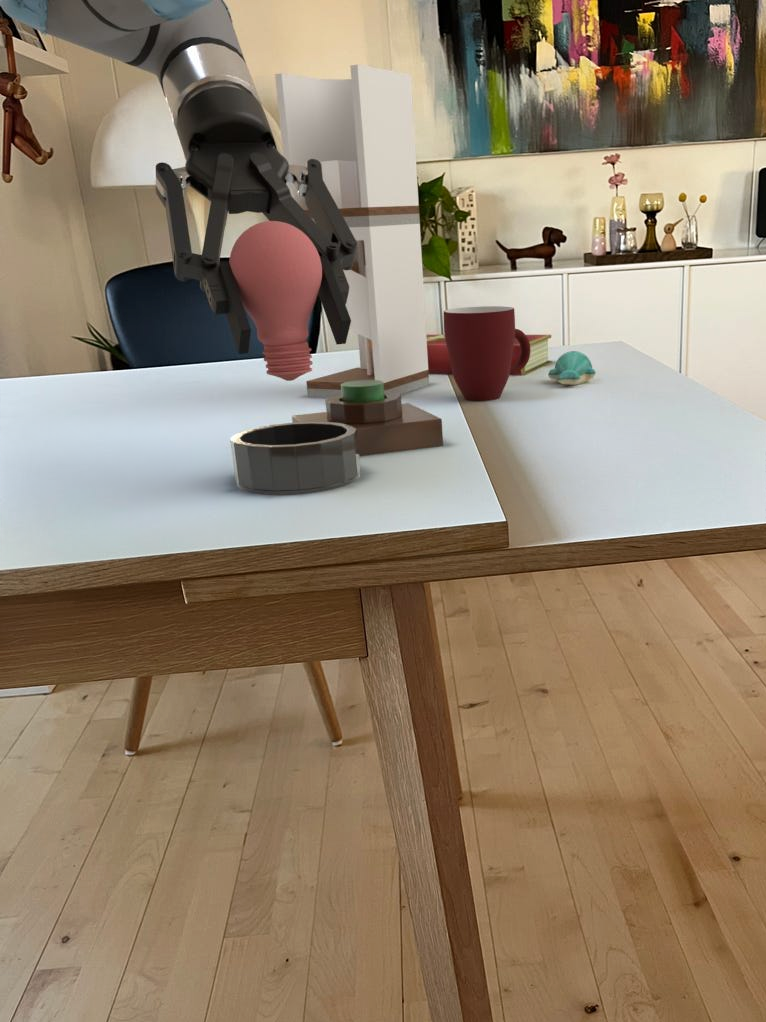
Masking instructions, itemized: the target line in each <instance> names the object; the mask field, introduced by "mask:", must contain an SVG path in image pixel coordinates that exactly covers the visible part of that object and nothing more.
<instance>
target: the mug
mask: <svg viewBox="0 0 766 1022" xmlns="http://www.w3.org/2000/svg"><path fill="white" fill-rule="evenodd" d="M515 313H516V312H515V308H514V307H511V306H501V305H500V306H499V305H498V306H497V305H495V306H494V305H493V306H492V305H491V306H489V305H488V306H485V305H484V306H468V307H456V308H450V309H449V308H448V309H445V310H443V335H445V341H446V345H447V350H448V355H449V359H450V364H451V368H452V373H453V374H452V377H453V379H454V381H455V384H456V386H457V387H458V389H459V391H460V393H461V396H463V398H464V400H466V401H470V402H488V401H496V400H499V399H500V398H501V396H502V394H503V392H504V390H505V387H506V385H507V383H508V380H509V377H510V376H511V375H510V374H513V373H516V372H518V371H520V370H521V369H523V368H524V367H525V366H526V364H527V363H528V361H529V358H530V343H529V340H528V338H527V336H526V335H527V334H525V333H524V332H523V330H520V329H518V328H516V318H515V317H516V314H515ZM514 338H516V339H517V340H518V341H519V344H520V347H521V354H520V358H519V361H518V362H517V364H516V365H514V366H513V367H511V360H512V353H513V346H514Z"/></svg>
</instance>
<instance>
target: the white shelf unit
mask: <svg viewBox="0 0 766 1022" xmlns="http://www.w3.org/2000/svg"><path fill="white" fill-rule="evenodd" d="M274 79H275V88H276V98H277V106H278V108H277V109H278V117H279V119H278V120H279V127H280V138H281V147H282V156H283V157H284V158H285V159H286V160H287V161H288V164H290V165H298V166H305V167H307V161H308V160H310V159H316V160H318V161H319V162H320V163H321V165H322V177H323V181H324V183H325V185H326V187H327V188H328V190H329V192H330V194H331V196H332V198H333V199H334V201H335V203H336V205H337V207H338V209H339V210H340V212H341V214H342V216H343V218H344V219H345V221H346V223H347V225H348V227H349V229H350V230H351V232H352V234H353V236H354V238H355V240H356V241H357V249H356V253H355V258H354V262H353V266H352V269H350V270H343V271H344V274H345V276H346V279H347V282H348V284H349V293H348V298H347V302H346V304H345V305H346V308H347V310H348V313H349V316H350V319H351V324H350V328H349V331H351V332H353V333H355V334H357V339H358V341H357V342H358V352H359V353H358V354H359V364H360V367H354V368H350V369H346V370H343V371H339V372H335V373H332V374H328V375H324V376H321V377H317V378H313V379H309V380H306V391H307V398H317V399H318V398H319V399H320V398H321V399H328V398H330V397H333V396H337V395H342V393H341V384H342V383H345V382H350V381H358V380H379V381H383V383H384V392H390V393H396V394H398V395H403V394H407V393H409V392H412V391H415V390H418V389H420V388H421V389H422V388H424V387H427V386H430V374H429V373H428V356H427V339H426V334H427V323H426V322H427V321H426V305H425V289H424V272H423V270H424V269H423V256H422V255H423V254H422V253H423V252H422V238H421V237H422V236H421V221H420V220H421V219H420V205H419V187H418V171H417V168H418V167H417V154H416V151H417V150H416V135H415V119H414V104H413V103H414V102H413V101H414V99H413V83H412V74H411V73H407V72H401V71H395V70H390V69H385V68H378V67H373V66H367V65H362V64H352V65H350V78H345V79H344V78H343V79H339V78H338V79H335V78H333V79H332V78H331V79H330V78H328V79H327V78H317V77H316V78H315V77H307V76H301V75H294V74H288V73H275V74H274ZM286 185H287V186H288V188H289V190H290V194H291V196H292V197H293V198H294V200H295V201H296V202H297V203H298V204H299V205H300V206H301V208H302V209H303V210H304V211H305V212H306V213H307V214H308V215H309V217H310V218H311V219H312V220H313V221H314V219H313V217H312V215H311V213H310V212H309V210H308V208H307V205H306V203H305V198H304V197H301V196H299V194H298V192H299V191H298V190H297V189H296V187H295V185H294V184H293V183H291V182H288V181H287V183H286ZM314 222H315V221H314Z"/></svg>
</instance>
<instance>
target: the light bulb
mask: <svg viewBox="0 0 766 1022" xmlns="http://www.w3.org/2000/svg"><path fill="white" fill-rule="evenodd" d="M228 262H229V264H230V267H231V270H232V273H233V276H234V279H235V282H236V285H237V288H238V291H239V294H240V297H241V300H242V303H243V306H244V309H245V312H247V314H248V315H249V317H250V318H251V320H252V322H253V323H254V325H255V328H256V331H257V332H256V333H257V334H256V337H257V340H258V341H259V342H260V343H261V344H263V348H264V350H263V351H262V354H263V356H264V357H263V362H265V363H266V364H265V369H267V370H266V375H267V376H268V375H269V376H273V377H275V378H280V379H282V380H284V381H286V382H292V381H295V380H296V379H298V378H299V377H301V376H304V375H305V374H307V373H310V372H312V371H313V368H312V367H311V366H312V365H313V364H314V363H313V361H312V360H311V359H312V357H313V355H312V354H310V352H311V351H312V347H309V343H308V341H306V340H307V339H308V338H309V333H310V332H309V329H308V323H309V320H310V318H311V314H312V313H313V312H312V311H313V309H314V307H315V304H316V302H317V298H318V296H319V295H318V292H319V289H320V285H321V280H322V265H321V260H320V257H319V254H318V251H317V249H316V247H315V246H314V244H313V243H312V241H311V240H310V239H309V238H308V236H307V235H305V234H304V233H303V232H302V231H301V230H299V229H298V228H296V227H294V226H292V225H290V224H287V223H284V222H279V221H269V220H266V221H261V222H258V223H255V224H254V225H252V226H250V227H248V228H246V229H245V230H244V231H243V232H242V233H241V234H240V235H239V236H238V238H237V239H236V240H235V242H234V244H233V246H232V248H231V251H230V254H229V260H228Z"/></svg>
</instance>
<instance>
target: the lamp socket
mask: <svg viewBox="0 0 766 1022" xmlns="http://www.w3.org/2000/svg"><path fill="white" fill-rule="evenodd" d="M229 442H230V449H231V456H232V465H233V471H234V478H235V479H234V480H235V481H236V486H237V488H238V489H239V490H241V491H243V492H246V493H250V494H257V495H266V496H292V495H295V496H297V495H306V494H307V495H308V494H314V493H320V492H321V493H322V492H327V491H330V490H332V491H333V490H336V489H340V488H342V487H345V486H348V485H351V484H353V483H355V482H356V481H358V480H359V479H360V477H361V461H360V456H359V447H358V435H357V429H356V428H354V427H352V426H351V425H347V424H341V423H334V422H295V423H292V422H285V423H276V424H268V425H264V426H259V427H258V426H257V427H253V428H249V429H245V430H243V431H239V432H237V433H235V434H234V435H232V436H231V437H230V438H229Z"/></svg>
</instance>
